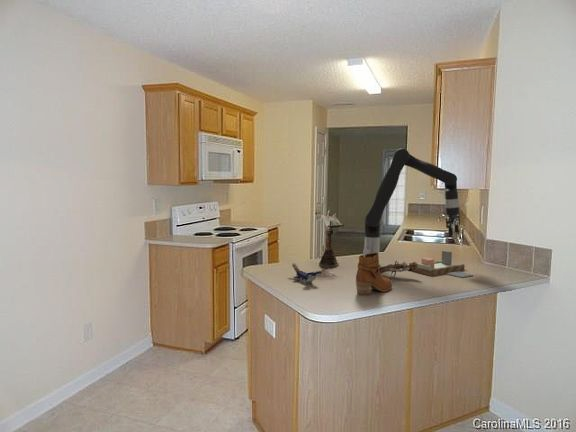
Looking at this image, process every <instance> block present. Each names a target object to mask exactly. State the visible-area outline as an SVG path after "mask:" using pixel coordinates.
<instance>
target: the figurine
mask: <svg viewBox="0 0 576 432" xmlns="http://www.w3.org/2000/svg"><path fill="white" fill-rule="evenodd" d="M417 266H418V264H417V262H416V261H413V262H410V263H409V265H408V264H407V263H406V261H404V262H402V263H399V262H398V261H397V260H395V262H394V264H388V265H385V266H384V265H383V266H379V271H380V274H381V275H382V274H383V273H387V272H388V273H389V272H391V276H392V275H393V279H395V278H396V274H397V273H398V272H399V273H401V272H406V271H407V272H413V271H412V270H414V269H416V268H417ZM393 273H394V274H393Z"/></svg>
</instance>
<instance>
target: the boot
mask: <svg viewBox="0 0 576 432" xmlns="http://www.w3.org/2000/svg"><path fill="white" fill-rule="evenodd" d="M379 268H380V258H379V259H378V253H370V254H366V255H365V257H363V254H361V255H359V257H358V262H357V271H356V275H355V284H356V285H355V286H356V293H357V296H358V295H359V296H369V295H372V289H373V290H375V291H378V292H382V293H383V292H384V293H386V292H388V291H390V290H391V288H392V287H393V283H392V282H393V281H392V280H391V279H390V278H388V277H383V275H382V273H381V274H380V271H379Z"/></svg>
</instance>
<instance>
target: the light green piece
mask: <svg viewBox="0 0 576 432" xmlns="http://www.w3.org/2000/svg"><path fill="white" fill-rule="evenodd" d="M452 255H453V251H450V250H445V249H444V250H441V261H442V263H437V264H434V268H431V266H428V265H424V264H422V263H419V262H418V263H417V262H416V263H417V264H418V267H422V268H427V269H436V268H442V267H448V266H454V265H455V264H454V265H453V264H452V258H453V257H452Z"/></svg>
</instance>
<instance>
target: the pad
mask: <svg viewBox="0 0 576 432" xmlns="http://www.w3.org/2000/svg"><path fill="white" fill-rule="evenodd" d="M446 275H448V276H452V277H456V278H459V279H463V278H470V277H474V274H471V273H467V272H463V271H455V272H450V273H446Z"/></svg>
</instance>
